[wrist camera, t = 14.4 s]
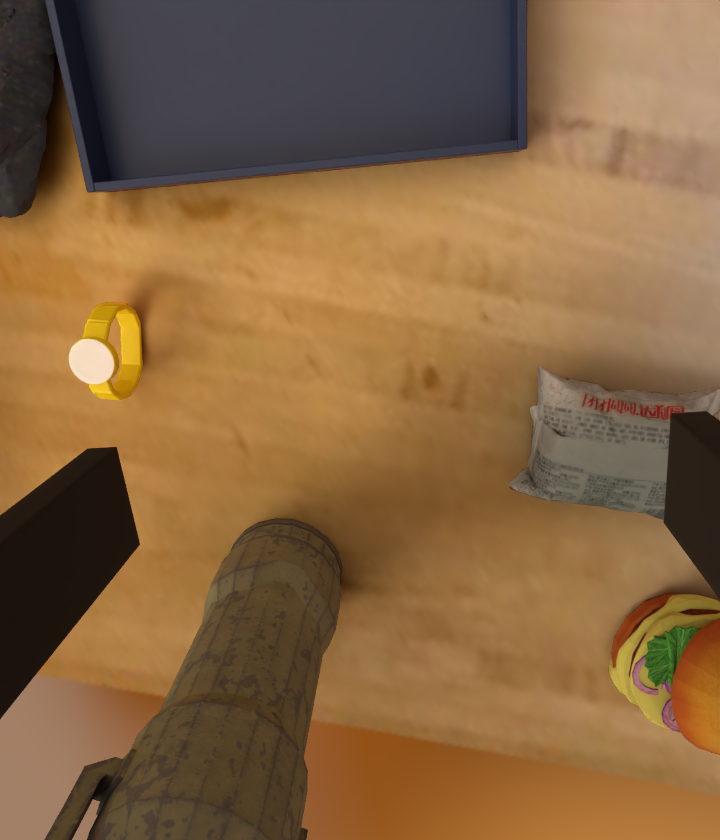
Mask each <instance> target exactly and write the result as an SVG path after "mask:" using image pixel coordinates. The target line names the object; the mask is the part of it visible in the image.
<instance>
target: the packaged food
mask: <svg viewBox="0 0 720 840" xmlns="http://www.w3.org/2000/svg"><path fill="white" fill-rule="evenodd" d="M537 374H538V404H537V406H536V405H534V406H533V407H531V409H530V413H531V418H532V420H533V426H532V428H533V430H532V443H531V456H529V459H528V465H529V467H528V468H526V469H523V470H522V471H521V473H519V474H518V475H516V476H515V478H514V480H512V481H510V485H509V487H510V489H513V490H515V491H518V492H521V493H524V494H527V495H531V496H534V497H537V498H541V499H545V500H551V501H559V502H568V503H577V504H585V505H592V506H602V507H607V508H609V509H616V510H623V511H630V512H638V513H646V514H649V515H651V516H654V517H656V518H660V519H662V520H664V510H665V495H666V479H667V464H668V448H669V433H670V417H671V413H684V412H700V411H707V412H709V413H710V414H711V415H714V414H715V413H716V412H717V411H718V409H719V407H720V388H719V387H717V388H715V387H714V388H710V389H704V390H701V391H694V392H690V393H682V394H677V395H674V394H664V393H656V392H648V391H639V390H615V391H611V392H608V391H605V389H604V388H603V387H601V386H600V385H598V384H594V383H590V382H584V381H579V380H574V379H568V378H564V377H561V376H558V375H556V374H553V373H551V372H549V371H548V370H547V369H545V368H543V367H541V366H539V365H538V371H537ZM517 476H518V477H517Z"/></svg>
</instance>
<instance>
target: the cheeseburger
mask: <svg viewBox="0 0 720 840" xmlns="http://www.w3.org/2000/svg"><path fill="white" fill-rule="evenodd" d="M609 673H610V676H611V679H612V681H613V683H614V684H615V686H616V687H617V688H618V690H619V691H620V692H621V693H623V694H625V696H626V697H627V698H628V699H629V701H630V702H631V703H633V704H635V705H637V706H638V707H640V708H641V709H642V711H643V713H644V715H645V717H646V718H648V719H649V720H651V721H652V722H654V723H655V724H657V725H659V726H661V727H663V728H665V729H671V730H672V731H677V732H681V733H682V734H683V736H684V737H685V738H686V739H687V740H688V741H689V742H691V743H692V744H693V745H695V746H696V747H698V748H700V749H703V750H706V751H709V752H712V753H715V754H719V755H720V602H719V601H717V600H714V599H711V598H707V597H704V596H700V595H695V594H673V593H669V594H666V595H663V596H660V597H657V598H654V599H651V600H648V601H645V602H644V603H643V604H642V605H641V606H640V607H638V608H637V609H636V610H635V611H634V612H633V613H632V614H630V615H629V616H628V617H627V618H626V620H625V621H624V623H623V624H622V626H621V627H620V629H619V630H618V632H617V634H616V635H615V638H614V643H613V648H612V653H611V662H610V666H609Z"/></svg>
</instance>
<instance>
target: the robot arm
mask: <svg viewBox="0 0 720 840" xmlns="http://www.w3.org/2000/svg"><path fill="white" fill-rule="evenodd" d="M664 524H665V525H666V526H667V528H668V529H669V530H670V532H671V533H672V535H673V536H674V537H675V539H676V540H677V541H678V543H679V544H680V545H681V547H682V548H683V550H684V551H685V552H686V554H687V555H688V556H689V558H690V559H691V561H692V562H693V563H694V565H695V566H696V567H697V569H698V570H699V571H700V573H701V574H702V576H703V577H704V578H705V580H706V581H707V582H708V584H709V585H710V586H711V588H712V589H713V591H714V592H715V593H716V595H717V596H718V597H719V599H720V421H719V420H718V419H716V418H715V417H714V416H713V415H711V414H710V413H709V412H707V411H700V412H684V413H671V417H670V433H669V448H668V464H667V479H666V495H665V510H664ZM139 545H140V542H139V538H138V534H137V530H136V526H135V522H134V517H133V513H132V509H131V505H130V501H129V497H128V492H127V488H126V484H125V480H124V476H123V472H122V468H121V463H120V459H119V455H118V451H117V447H108V448H91V449H87V450H85V451H84V452H83V453H81V454H80V455H79V456H77V457H76V458H75V459H74V460H72V461H71V462H70V463H68V464H67V465H66V466H64V467H63V468H62V469H60V470H59V471H58V472H57V473H55V474H54V475H53V476H51V477H50V478H49V479H47V480H46V481H45V482H44V483H42V484H41V485H40V486H38V487H37V488H36V489H34V490H33V491H32V492H31V493H29V494H28V495H27V496H25V497H24V498H23V499H21V500H20V501H19V502H18V503H16V504H15V505H14V506H12V507H11V508H10V509H8V510H7V511H6V512H5V513H3V514H2V515H1V516H0V719H1V717H2V716H3V715H4V713H5V712H6V711H7V710H8V708H9V707H10V706H11V705H12V703H13V702H14V701H15V700H16V698H17V697H18V696H19V695H20V694H21V692H22V691H23V690H24V688H25V687H26V686H27V685H28V683H29V682H30V681H31V680H32V679H33V677H34V676H35V675H36V674H37V672H38V671H39V670H40V669H41V667H42V666H43V665H44V664H45V662H46V661H47V660H48V659H49V657H50V656H51V655H52V654H53V652H54V651H55V650H56V649H57V647H58V646H59V645H60V644H61V642H62V641H63V640H64V639H65V637H66V636H67V635H68V634H69V632H70V631H71V630H72V629H73V627H74V626H75V625H76V624H77V622H78V621H79V620H80V619H81V617H82V616H83V615H84V614H85V612H86V611H87V610H88V609H89V607H90V606H91V605H92V604H93V602H94V601H95V600H96V599H97V597H98V596H99V595H100V594H101V592H102V591H103V590H104V589H105V587H106V586H107V585H108V584H109V582H110V581H111V580H112V579H113V577H114V576H115V575H116V574H117V572H118V571H119V570H120V569H121V567H122V566H123V565H124V564H125V562H126V561H127V560H128V559H129V557H130V556H131V555H132V554H133V552H134V551H135V550H136V549H137V547H138V546H139Z"/></svg>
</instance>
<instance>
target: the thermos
mask: <svg viewBox="0 0 720 840" xmlns="http://www.w3.org/2000/svg"><path fill="white" fill-rule="evenodd" d="M341 582H342V564H341V561H340V558H339V555H338V552H337V550H336V549H335V547H334V546H333V545H332V543H331V542H330V541H329V539H328V538H327V537H326V536H325V535H323V534H322V533H321V532H319V531H318V530H316V529H315V528H314V527H312V526H310V525H307V524H304V523H302V522H299V521H296V520H287V519H273V520H268V521H264V522H259V523H257V524H256V525H254V526H252V527H250V528H249V529H247V530H245V531H244V532H243V533H242V535H241V536H240V537H239V538H238V539H237V540H236V542H235V543H234V545H233V547H232V549H231V552H230V553H229V555H228V556H227V557H226V558H225V559H224V560H223V562H222V564H221V566H220V568H219V570H218V572H217V574H216V576H215V578H214V580H213V582H212V584H211V586H210V589H209V592H208V595H207V598H206V601H205V608H204V615H203V622H202V624H201V626H200V628H199V630H198V632H197V634H196V637H195V639H194V641H193V643H192V645H191V647H190V649H189V651H188V653H187V655H186V658H185V660H184V662H183V664H182V666H181V668H180V670H179V672H178V674H177V676H176V679H175V681H174V683H173V685H172V687H171V689H170V691H169V693H168V695H167V697H166V699H165V702H164V704H163V706H162V708H161V710H160V712H159V713H158V714H157V715H156V716H154V717H153V718H152V719H151V720H150V722H149V723H148V724H147V725H146V726H145V727H144V728H143V729H142V730H141V731H140V733H139V734H138V735H137V737H136V739H135V741H134V744H133V745H132V747H131V750H130V751H129V753H128V754H127V755H126V756H125V757H124V758H123V759H120V758H117V757H114V758H111V759H108V760H104V761H101V762H97V763H94V764H91V765H87V766H85V767H84V769H83V771H82V773H81V775H80V776H79V778H78V780H77V782H76V784H75V786H74V788H73V789H72V791H71V793H70V795H69V797H68V799H67V801H66V802H65V804H64V807H63V808H62V810H61V812H60V813H59V815H58V817H57V819H56V820H55V822H54V824H53V826H52V828H51V829H50V831H49V833H48V835H47V836H46V838H45V840H72V838H73V836H74V834H75V832H76V831H77V829H78V827H79V825H80V823H81V821H82V819H83V817H84V815H85V813H86V811H87V809H88V808H89V806H90V804H91V801H92V799H94V800H97V801H100V804H99V807H98V810H97V815H98V816H97V818H96V820H95V822H94V824H93V826H92V828H91V830H90V832H89V836H88V838H87V840H306V838H307V832H308V830H307V829H304V828H301V825H302V818H303V813H304V807H305V801H306V795H307V773H308V771H307V767H306V764H305V760H304V753H305V747H306V742H307V737H308V732H309V726H310V721H311V716H312V710H313V705H314V699H315V694H316V689H317V683H318V678H319V673H320V667H321V662H322V656H323V654H324V652H325V651H326V649H327V647H328V646H329V644H330V641H331V639H332V637H333V635H334V632H335V630H336V625H337V619H338V613H339V607H340V594H341Z"/></svg>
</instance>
